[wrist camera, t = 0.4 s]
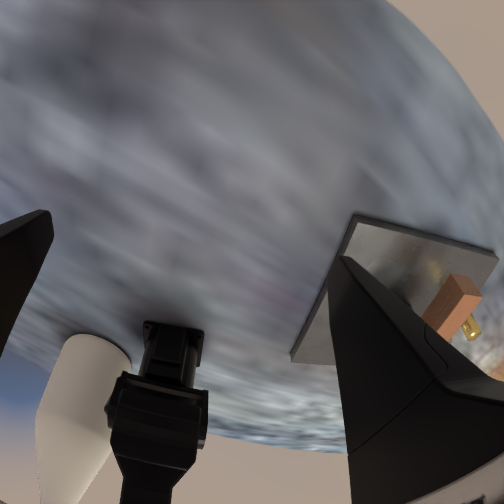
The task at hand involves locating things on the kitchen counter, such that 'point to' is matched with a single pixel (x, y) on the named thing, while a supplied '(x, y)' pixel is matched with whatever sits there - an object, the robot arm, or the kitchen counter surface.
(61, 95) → the kitchen counter surface
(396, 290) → the post plate
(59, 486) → the wine bottle
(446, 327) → the disc with brown handle
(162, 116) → the kitchen counter surface
